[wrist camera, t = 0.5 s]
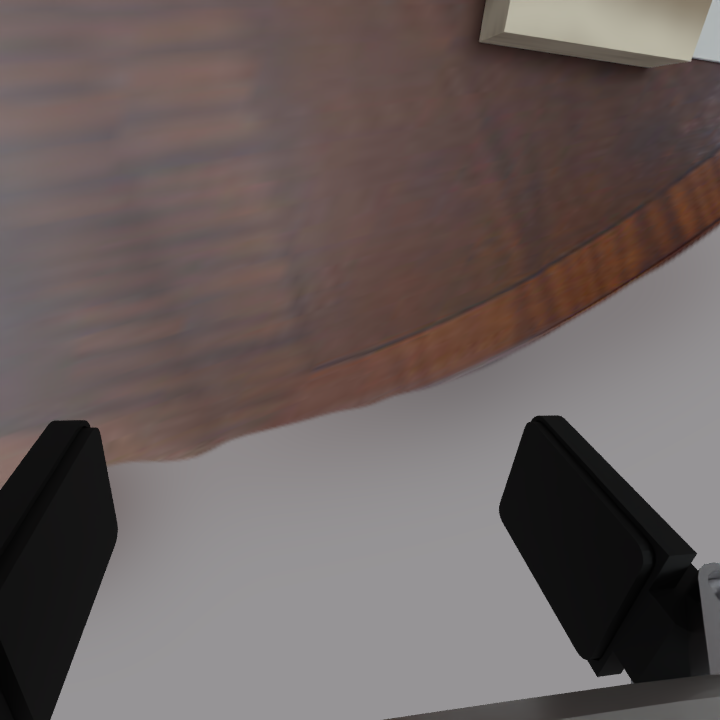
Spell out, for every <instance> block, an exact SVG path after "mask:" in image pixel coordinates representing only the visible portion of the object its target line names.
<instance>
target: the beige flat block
mask: <svg viewBox="0 0 720 720" xmlns="http://www.w3.org/2000/svg"><path fill="white" fill-rule="evenodd" d="M711 3H712V0H486V4H485V10H484V15H483V21H482V27H481V33H480V38H479V42H481V43H488V44H494V45H501V46H508V47H514V48H521V49H527V50H534V51H541V52H547V53H554V54H560V55H567V56H574V57H580V58H587V59H593V60H600V61H607V62H613V63H620V64H626V65H633V66H640V67H646V68H651V67H657V66H664V65H670V64H677V63H684V62H690V61H691V59H692V57H693V54H694V51H695V48H696V45H697V42H698V40H699V37H700V34H701V31H702V28H703V25H704V23H705V20H706V17H707V14H708V11H709V8H710V6H711Z"/></svg>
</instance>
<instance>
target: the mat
mask: <svg viewBox="0 0 720 720" xmlns="http://www.w3.org/2000/svg"><path fill="white" fill-rule="evenodd" d="M692 59H699V60H705V61H711V62H717V63H720V0H712V3H711V6H710V8H709V11H708V14H707V17H706V20H705V23H704V25H703V28H702V31H701V34H700V37H699V40H698V42H697V45H696V48H695V51H694V54H693V57H692Z"/></svg>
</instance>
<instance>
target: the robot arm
mask: <svg viewBox="0 0 720 720" xmlns="http://www.w3.org/2000/svg"><path fill="white" fill-rule="evenodd" d="M499 513H500V518H501V520H502V522H503V524H504V526H505V527H506V529H507V531H508V532H509V534H510V536H511V538H512V540H513V541H514V543H515V545H516V546H517V548H518V550H519V552H520V553H521V555H522V557H523V559H524V560H525V562H526V564H527V566H528V567H529V569H530V571H531V573H532V574H533V576H534V578H535V579H536V581H537V583H538V584H539V586H540V588H541V590H542V592H543V594H544V595H545V597H546V599H547V600H548V602H549V604H550V606H551V607H552V609H553V611H554V613H555V614H556V616H557V618H558V620H559V621H560V623H561V625H562V627H563V628H564V630H565V632H566V634H567V635H568V637H569V638H570V640H571V642H572V644H573V646H574V647H575V649H576V651H577V652H578V654H579V655H580V656H581V657H582V658H583V659H586V660H588V662H589V664H590V665H591V667H592V669H593V671H594V672H595V674H596V676H597V677H600V676H607V675H614V674H621V673H622V671H623V669H625V670H626V672H627V674H628V675H629V677H630V678H631V684H627V685H620V686H614V687H606V688H600V689H592V690H586V691H578V692H571V693H564V694H557V695H550V696H543V697H537V698H529V699H521V700H514V701H508V702H501V703H494V704H487V705H480V706H473V707H466V708H460V709H453V710H446V711H439V712H432V713H425V714H419V715H412V716H405V717H398V718H392V719H385V720H720V563H709V564H704V565H703V566H702V567H701V568H700V569H699V570H697V569H696V568H695V567H694V566H693V565H692V564H691V562H692V561H693V559H694V557H695V556H696V554H697V553H696V552H695V551H694V550H693V549H692V548H691V547H690V546H689V545H688V544H687V543H686V542H685V541H684V540H683V539H682V538H681V537H680V536H679V535H678V534H677V533H676V532H675V531H674V530H673V529H672V528H671V527H670V526H669V525H668V524H667V522H666V521H665V520H664V519H663V518H661V517H660V515H659V514H658V513H657V512H656V511H655V510H654V509H653V508H652V507H651V506H650V505H649V504H648V503H647V502H646V501H645V500H644V499H643V498H642V497H641V496H640V495H639V494H638V493H637V492H636V491H635V490H634V489H633V488H632V487H631V486H630V485H629V484H628V483H627V482H626V481H625V480H624V479H623V478H622V477H621V476H620V475H619V474H618V473H617V472H616V471H615V470H614V469H613V468H612V467H611V465H610V464H608V463H607V461H606V460H604V458H603V457H602V456H601V455H600V454H599V453H598V452H597V451H596V450H595V449H594V448H593V447H592V446H591V445H590V444H589V443H588V442H587V441H586V440H585V439H584V438H583V437H582V436H581V435H580V434H579V433H578V432H577V431H576V430H575V429H574V428H573V427H572V426H571V425H570V424H569V423H568V422H567V421H566V420H565V419H564V418H563V417H562V416H536V417H534V418H533V419H532V421H531V422H529V423H527V424H526V426H525V429H524V432H523V435H522V438H521V441H520V444H519V447H518V450H517V453H516V456H515V459H514V462H513V465H512V468H511V472H510V475H509V478H508V480H507V483H506V487H505V490H504V493H503V496H502V499H501V502H500V506H499ZM117 532H118V527H117V520H116V514H115V509H114V504H113V499H112V493H111V488H110V483H109V477H108V472H107V466H106V461H105V456H104V451H103V445H102V440H101V435H100V431H99V429H98V428H90V425H89V423H88V422H87V421H85V420H69V421H52V422H51V423H50V424H49V425H48V426H47V427H46V429H45V430H44V431H43V433H42V434H41V436H40V437H39V438H38V440H37V441H36V442H35V444H34V445H33V446H32V448H31V449H30V450H29V452H28V453H27V455H26V456H25V457H24V459H23V460H22V461H21V463H20V464H19V465H18V467H17V468H16V469H15V471H14V472H13V474H12V475H11V476H10V478H9V479H8V480H7V482H6V483H5V484H4V486H3V487H2V489H1V490H0V720H50V719H51V716H52V714H53V711H54V708H55V706H56V703H57V700H58V698H59V695H60V692H61V689H62V686H63V684H64V681H65V678H66V676H67V673H68V671H69V668H70V665H71V662H72V660H73V657H74V654H75V652H76V649H77V646H78V643H79V641H80V638H81V635H82V633H83V630H84V627H85V625H86V622H87V619H88V616H89V614H90V611H91V608H92V606H93V603H94V600H95V598H96V595H97V592H98V590H99V587H100V584H101V581H102V579H103V576H104V573H105V571H106V567H107V565H108V563H109V560H110V557H111V554H112V552H113V549H114V546H115V543H116V539H117Z"/></svg>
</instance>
